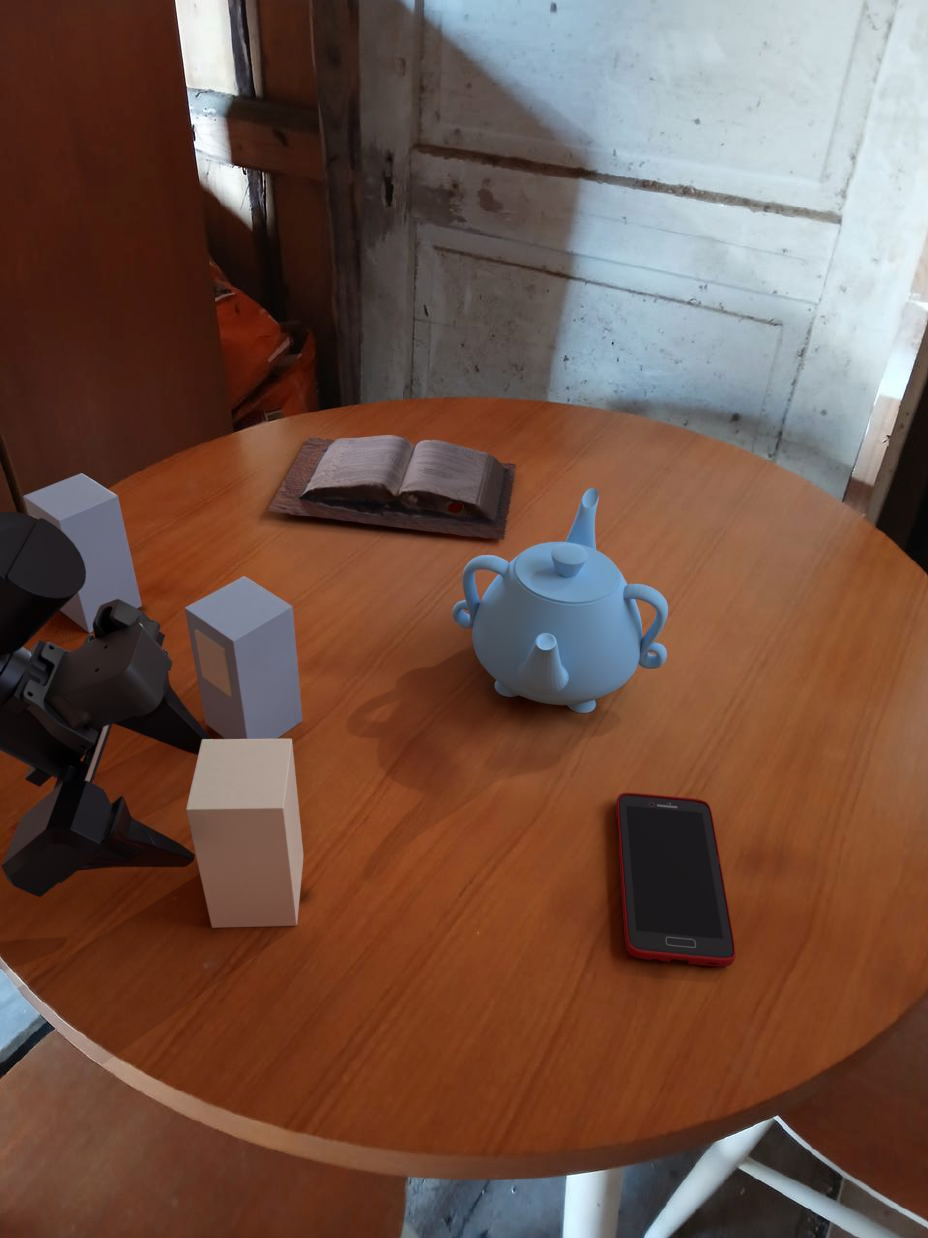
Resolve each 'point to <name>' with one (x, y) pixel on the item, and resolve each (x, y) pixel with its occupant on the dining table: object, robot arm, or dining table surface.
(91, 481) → the block left
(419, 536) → the dining table surface
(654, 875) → the cell phone
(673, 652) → the dining table surface
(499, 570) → the teapot
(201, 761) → the cream block
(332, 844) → the dining table surface
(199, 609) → the block right
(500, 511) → the book
